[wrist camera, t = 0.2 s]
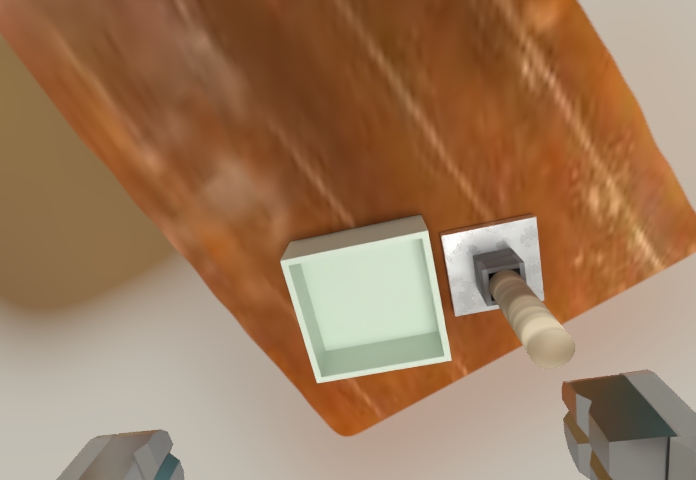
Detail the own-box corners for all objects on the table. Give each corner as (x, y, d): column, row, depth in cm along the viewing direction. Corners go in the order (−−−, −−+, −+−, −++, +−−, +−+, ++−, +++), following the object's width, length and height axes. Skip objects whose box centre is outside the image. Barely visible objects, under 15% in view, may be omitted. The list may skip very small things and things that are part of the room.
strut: (472, 255, 56) (521, 331, 38) (510, 247, 56) (579, 321, 38) (477, 289, 58) (526, 377, 40) (515, 282, 57) (582, 368, 39)
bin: (289, 241, 58) (280, 260, 52) (420, 214, 56) (427, 230, 50) (322, 353, 64) (317, 383, 57) (442, 331, 62) (451, 360, 55)
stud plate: (439, 232, 57) (447, 247, 51) (531, 213, 56) (550, 227, 50) (453, 311, 61) (462, 333, 55) (540, 295, 59) (558, 316, 54)
